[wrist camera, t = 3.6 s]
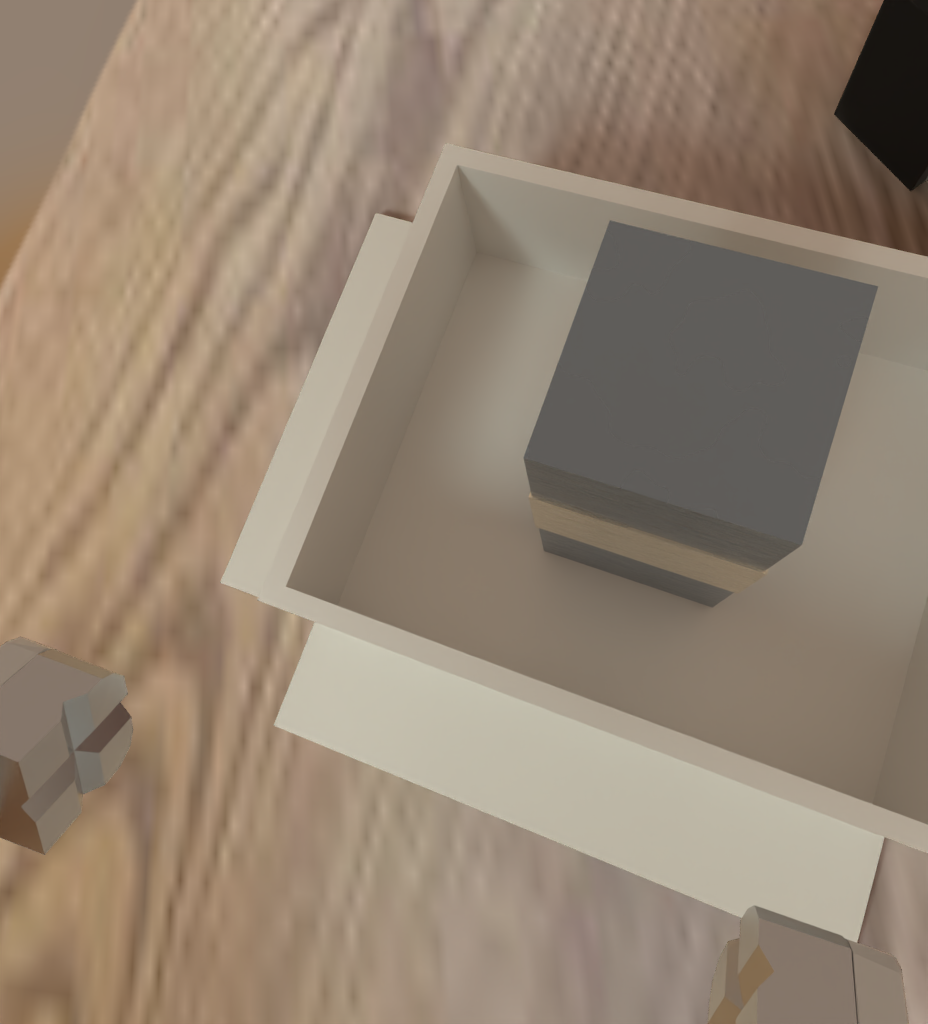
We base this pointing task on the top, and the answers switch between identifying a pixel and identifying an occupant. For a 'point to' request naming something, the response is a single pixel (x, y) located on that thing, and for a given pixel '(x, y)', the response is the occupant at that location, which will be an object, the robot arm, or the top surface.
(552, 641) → the box
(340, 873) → the top surface
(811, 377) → the tea tin
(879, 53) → the book
